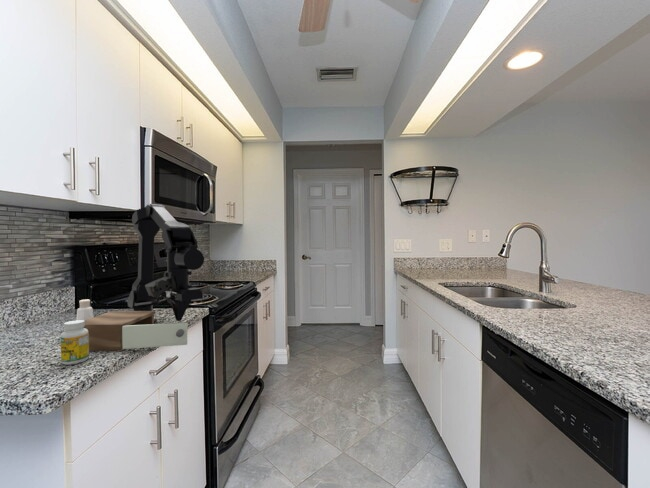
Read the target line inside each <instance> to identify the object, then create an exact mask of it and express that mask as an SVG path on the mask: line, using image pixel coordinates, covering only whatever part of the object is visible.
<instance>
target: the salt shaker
mask: <svg viewBox="0 0 650 488" xmlns="http://www.w3.org/2000/svg"><path fill="white" fill-rule="evenodd" d="M78 301H79V302H78V303H79V308H77V310H76V318H75V320H86V319H89V318H92V317H95V316H94V310H93V307H92V306H91V299H88V298H87V299H86V298H85V299H81V300H78Z"/></svg>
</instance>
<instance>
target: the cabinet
mask: <svg viewBox="0 0 650 488" xmlns="http://www.w3.org/2000/svg"><path fill="white" fill-rule="evenodd" d="M155 315H156V311H155V310H153V311H134V310H112V311H108V312H105V313H102V314H99V315H96V316H94V317H92V318H89V319H86V320H84V321H85V326H84V328H86V329H87V330H88V332H89V352H92V351H95V352H98V351H101V352H102V351H105V352H107V351H114V352H115V351H124V350H125V349H123V345H122V326H127V325H146V324H155V321H154V319H155V317H154V316H155Z"/></svg>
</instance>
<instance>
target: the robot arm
mask: <svg viewBox="0 0 650 488" xmlns="http://www.w3.org/2000/svg"><path fill="white" fill-rule="evenodd" d="M131 216H132V217H131V222H132V224H133V230H134V232H136V234H137V235H138V254H137V255H138V259H137V260H138V261H137V278H136V279H135V280H134V282H133V283H132V284H131V291H130V293H129V295H128V298H127V307H128V308H130V309H133V311H154V310H153V306H155V305H157V306H158V305H159V303H160V302H159V301H160V296H161V295H162V294H166V296H164V297H163V299H164V300H166V301H167V302H169V304H170V306H171V309H172V311H173V315H174V317H175V321H177V322H181V321H182V319H183V317H185V316H184V315H185V314H186V311H187V310H188V307H189V305H190V304H191V302H192V301H193V300H194V301H195V300H202V299H204V291H203V290H202V289H201V288H199V287H193V286H192V284H190V275H192V274H193V273H192V271H195V270H198V269H200V268H201V267H203V265H204V262H205V257H204V254H203V253H202V251H200V250H199V249H198V248H199V245H198V240H197V239H196V236H195V235H194V232H193V229H192V228H191V226H189V225H188V224H186V223H183V222H180V221H177V220H176V219H175V218H174V216H172V215H171V213H170V212H169V211H168V210H167V209H166V206H165V205H163V204H156V203H148V204H146V205H145V207H142V208H138V209H136V210H135V211H134V213H132V215H131ZM160 230H161V238H162V241H163V242H164V244H165V246H166V249H165V253H166V254H167V255H166V257H167V259H166V260H167V261H166V262H167V264H166V265H167V266H166V268H167V271H164V272H163V277H160V278H158V279H156V280H155V279H154V263H155V261H154V260H155V237H156V235H157V234H158V233H159V232H160ZM156 321H158V319H157V318H154V322H156Z"/></svg>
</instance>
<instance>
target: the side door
mask: <svg viewBox="0 0 650 488" xmlns="http://www.w3.org/2000/svg"><path fill="white" fill-rule="evenodd" d="M122 345H123V349H124V350H127V349H129V350H130V349H142V348H143V349H144V348H159V347H160V348H161V347H175V346H176V347H177V346H188V322H186V321H185V322H171V323H170V322H169V323H168V322H166V323H154V324H146V325H127V326H122Z"/></svg>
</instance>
